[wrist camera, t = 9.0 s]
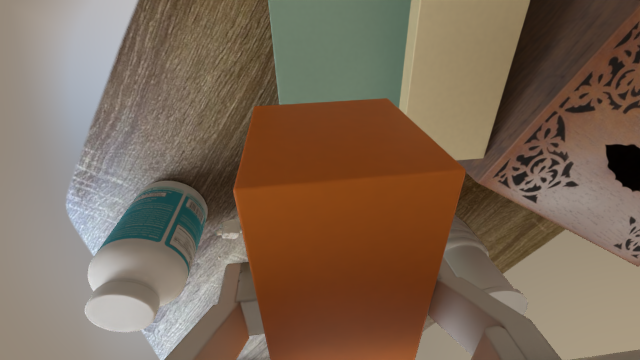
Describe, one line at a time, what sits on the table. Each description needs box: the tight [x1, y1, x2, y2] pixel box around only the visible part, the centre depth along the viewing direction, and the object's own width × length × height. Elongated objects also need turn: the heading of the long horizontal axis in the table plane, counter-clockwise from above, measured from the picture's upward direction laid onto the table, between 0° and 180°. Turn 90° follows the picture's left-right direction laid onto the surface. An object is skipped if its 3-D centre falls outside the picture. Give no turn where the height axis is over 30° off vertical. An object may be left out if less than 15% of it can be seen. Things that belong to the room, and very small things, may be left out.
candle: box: [443, 215, 528, 315], centre depth 31 cm, size 7×7×15 cm
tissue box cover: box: [456, 0, 640, 266], centre depth 29 cm, size 26×14×10 cm, turn 61°
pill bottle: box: [85, 181, 208, 332], centre depth 27 cm, size 8×7×14 cm
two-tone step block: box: [268, 0, 530, 160], centre depth 22 cm, size 16×16×9 cm
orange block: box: [233, 98, 466, 360], centre depth 10 cm, size 11×4×5 cm, turn 2°
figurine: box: [215, 216, 242, 259], centre depth 36 cm, size 4×12×7 cm
